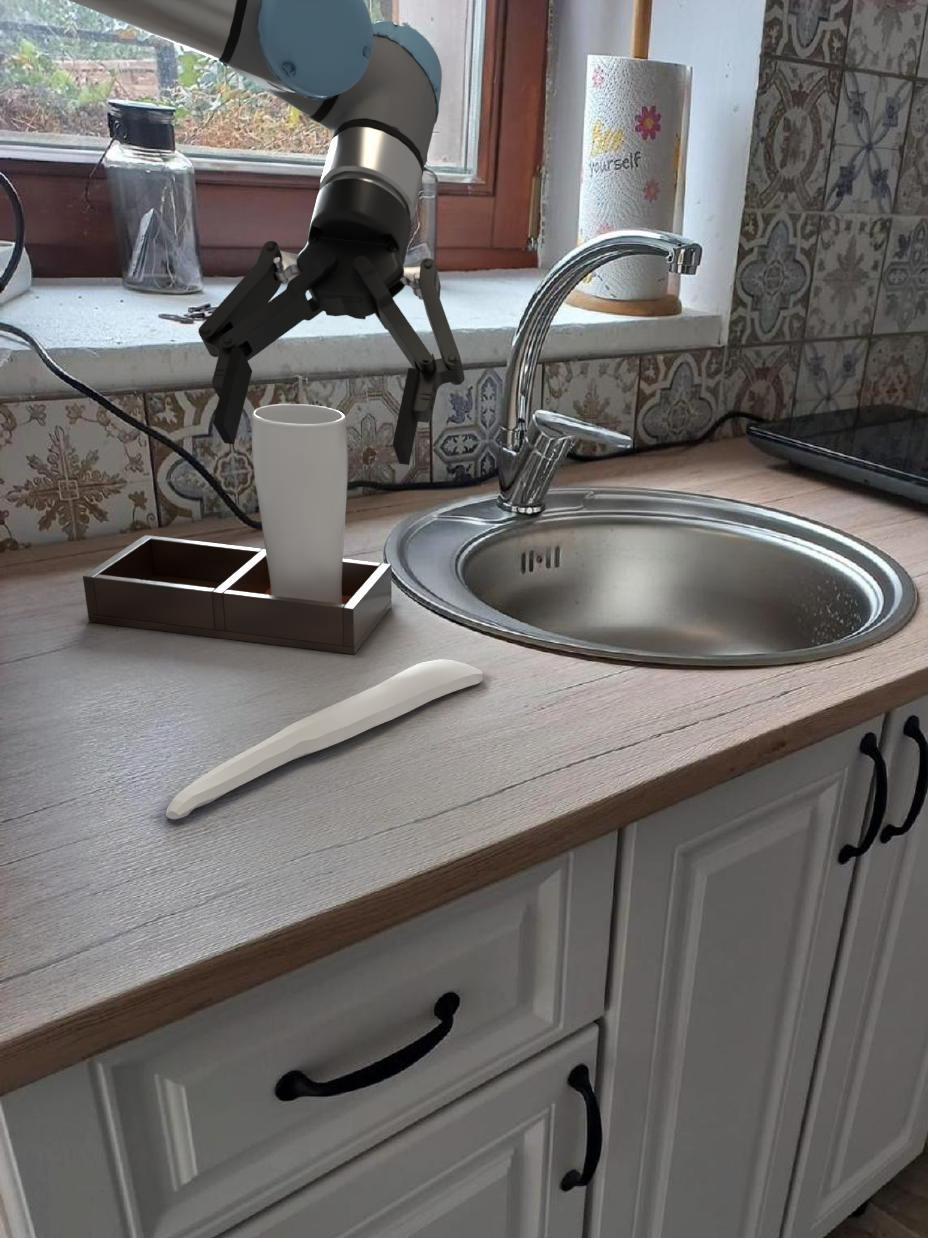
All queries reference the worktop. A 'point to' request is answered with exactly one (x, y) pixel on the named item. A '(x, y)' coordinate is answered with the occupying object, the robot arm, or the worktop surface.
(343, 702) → the white long thin piece
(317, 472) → the drinking glass
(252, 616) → the divided tray
